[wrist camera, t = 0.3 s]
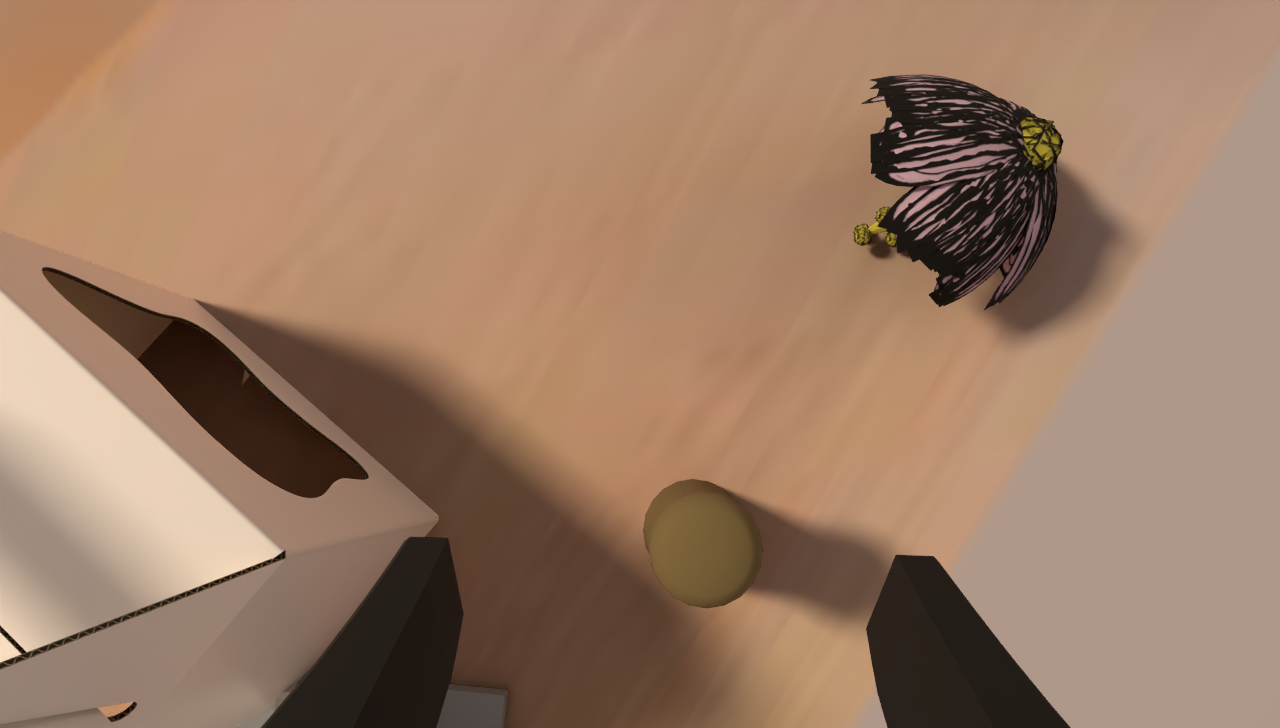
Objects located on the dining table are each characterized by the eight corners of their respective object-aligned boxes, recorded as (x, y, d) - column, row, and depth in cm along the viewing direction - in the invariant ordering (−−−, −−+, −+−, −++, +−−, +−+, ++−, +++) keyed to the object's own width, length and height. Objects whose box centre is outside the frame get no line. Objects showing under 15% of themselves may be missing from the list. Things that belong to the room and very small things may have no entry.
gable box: (45, 454, 42) (-1110, 434, 15) (192, 296, 44) (-614, 1, 16) (297, 696, 40) (-527, 1222, 12) (446, 519, 41) (9, 631, 13)
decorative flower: (1179, 285, 32) (914, 188, 29) (990, 370, 42) (778, 307, 39) (1127, 66, 38) (904, -35, 35) (973, 187, 48) (789, 118, 45)
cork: (745, 582, 40) (780, 625, 29) (643, 582, 40) (639, 625, 29) (742, 478, 41) (775, 482, 30) (642, 479, 41) (639, 483, 30)
